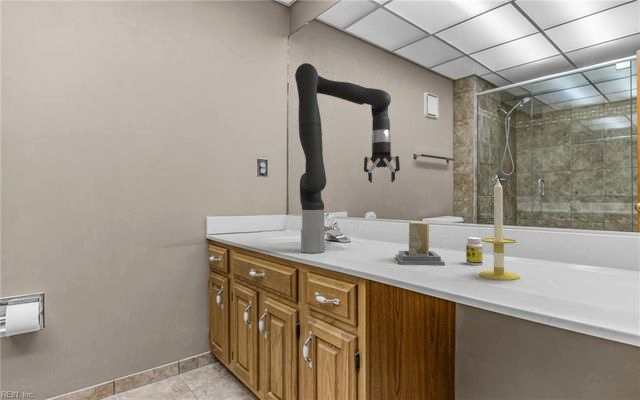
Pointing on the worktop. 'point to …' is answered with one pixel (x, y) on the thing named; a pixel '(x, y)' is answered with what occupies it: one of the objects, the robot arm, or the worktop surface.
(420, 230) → the skincare box
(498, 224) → the candle
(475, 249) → the supplement bottle
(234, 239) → the worktop surface
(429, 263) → the gray square tray
